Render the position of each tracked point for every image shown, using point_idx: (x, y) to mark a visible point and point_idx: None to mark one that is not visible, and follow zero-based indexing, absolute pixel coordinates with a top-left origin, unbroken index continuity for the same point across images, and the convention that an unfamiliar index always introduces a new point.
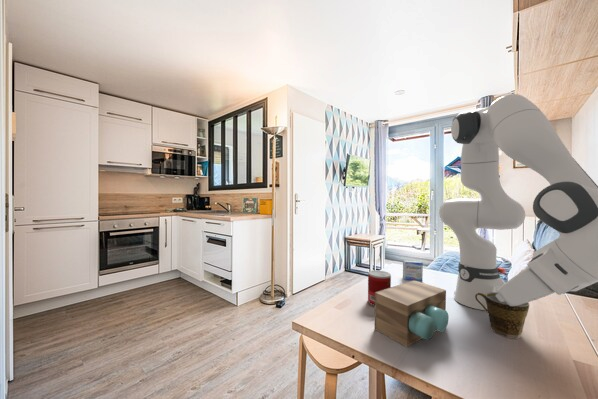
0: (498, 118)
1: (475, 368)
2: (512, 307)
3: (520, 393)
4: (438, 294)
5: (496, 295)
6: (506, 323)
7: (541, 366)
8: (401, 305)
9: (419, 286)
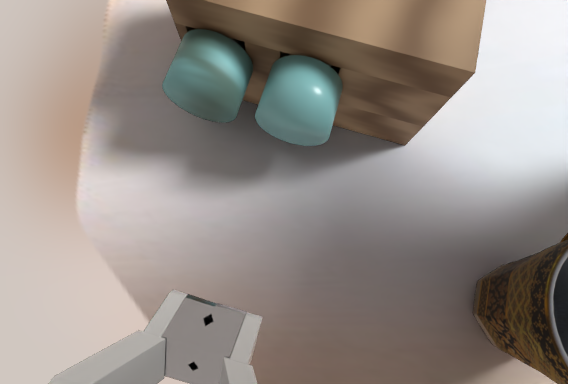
0: None
1: (211, 245)
2: (552, 349)
3: None
4: (402, 57)
5: (170, 294)
6: (496, 316)
7: None
8: None
9: None
